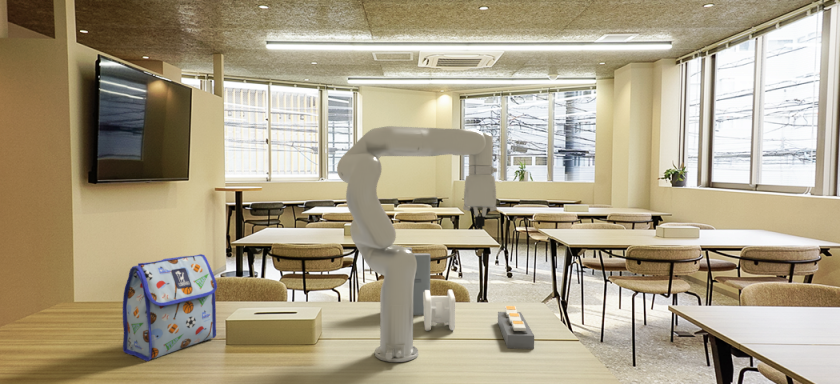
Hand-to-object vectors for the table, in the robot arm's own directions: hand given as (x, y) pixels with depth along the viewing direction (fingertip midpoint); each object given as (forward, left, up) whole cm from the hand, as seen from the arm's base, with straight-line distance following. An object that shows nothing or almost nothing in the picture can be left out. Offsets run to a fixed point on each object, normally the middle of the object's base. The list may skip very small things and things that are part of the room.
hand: (479, 228), depth 156 cm
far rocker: (+10, -12, -30) cm, 33 cm away
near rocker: (-6, -12, -30) cm, 32 cm away
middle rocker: (+2, -12, -30) cm, 32 cm away
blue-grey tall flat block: (+24, +25, -35) cm, 49 cm away
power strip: (+7, -12, -35) cm, 38 cm away
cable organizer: (+9, +13, -35) cm, 39 cm away
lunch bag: (-16, +93, -35) cm, 101 cm away
